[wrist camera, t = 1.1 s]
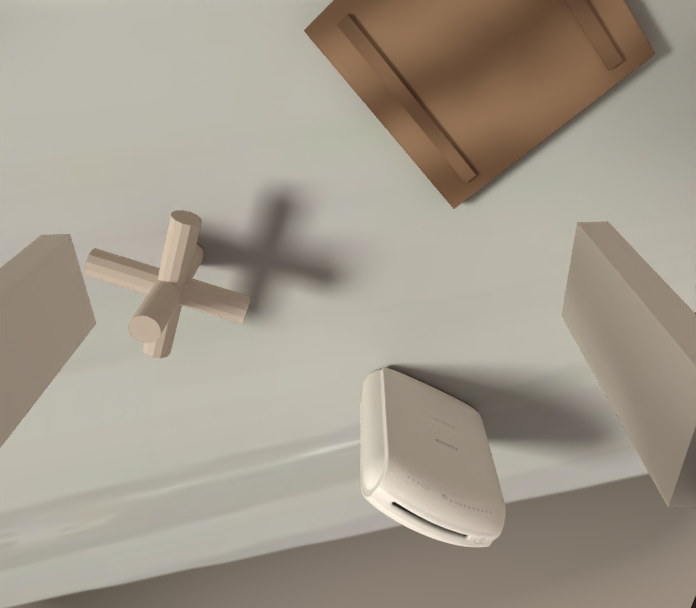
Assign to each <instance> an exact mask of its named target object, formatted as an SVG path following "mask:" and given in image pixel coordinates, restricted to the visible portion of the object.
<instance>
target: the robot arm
mask: <svg viewBox="0 0 696 608" xmlns="http://www.w3.org/2000/svg"><path fill="white" fill-rule="evenodd" d="M562 318H563V319H564V321H565V323H566V325H567V327H568V328H569V330H570V332H571V334H572V336H573V337H574V339H575V341H576V343H577V345H578V346H579V348H580V350H581V352H582V354H583V355H584V357H585V359H586V361H587V363H588V364H589V366H590V368H591V370H592V372H593V373H594V375H595V377H596V379H597V380H598V382H599V384H600V386H601V388H602V389H603V391H604V393H605V395H606V397H607V398H608V400H609V402H610V404H611V406H612V407H613V409H614V411H615V413H616V415H617V416H618V418H619V420H620V422H621V424H622V425H623V427H624V429H625V431H626V433H627V434H628V436H629V438H630V440H631V442H632V443H633V445H634V447H635V449H636V451H637V452H638V454H639V456H640V458H641V460H642V461H643V463H644V465H645V467H646V469H647V470H648V472H649V474H650V476H651V477H652V479H653V481H654V483H655V485H656V487H657V488H658V490H659V492H660V494H661V496H662V497H663V499H664V501H665V503H666V504H667V506H668V508H689V507H690V508H696V313H694V312H693V311H692V310H691V309H690V308H689V306H688V305H687V304H686V303H685V302H684V301H683V300H682V299H681V298H680V297H679V296H678V295H677V294H676V293H675V292H674V291H673V290H672V289H671V288H670V286H669V285H668V284H667V283H666V282H665V281H664V280H663V279H662V278H661V277H660V276H659V275H658V274H657V273H656V272H655V271H654V270H653V269H652V267H651V266H650V265H649V264H648V263H647V262H646V261H645V260H644V259H643V258H642V257H641V256H640V255H639V254H638V253H637V252H636V251H635V250H634V249H633V247H632V246H631V245H630V244H629V243H628V242H627V241H626V240H625V239H624V238H623V237H622V236H621V235H620V234H619V233H618V232H617V231H616V230H615V228H614V227H613V226H612V225H611V224H610V223H609V222H577V226H576V232H575V238H574V244H573V250H572V256H571V262H570V268H569V274H568V280H567V286H566V292H565V298H564V304H563V310H562ZM95 324H96V321H95V317H94V314H93V311H92V307H91V304H90V300H89V297H88V294H87V290H86V287H85V283H84V280H83V277H82V273H81V270H80V266H79V263H78V259H77V256H76V253H75V249H74V246H73V242H72V239H71V236H70V234H54V235H41V236H40V237H38V238H37V239H36V240H35V241H33V242H32V243H31V244H30V245H28V246H27V247H26V248H25V249H23V250H22V251H21V252H20V253H19V254H17V255H16V256H15V257H14V258H12V259H11V260H10V261H9V262H7V263H6V264H5V265H4V266H3V267H1V268H0V448H1V446H2V445H3V444H4V443H5V441H6V440H7V439H8V437H9V436H10V435H11V433H12V432H13V431H14V430H15V428H16V427H17V426H18V424H19V423H20V422H21V420H22V419H23V418H24V417H25V415H26V414H27V413H28V411H29V410H30V409H31V407H32V406H33V405H34V404H35V402H36V401H37V400H38V398H39V397H40V396H41V394H42V393H43V392H44V391H45V389H46V388H47V387H48V385H49V384H50V383H51V381H52V380H53V379H54V378H55V376H56V375H57V374H58V372H59V371H60V370H61V369H62V367H63V366H64V365H65V363H66V362H67V361H68V359H69V358H70V357H71V356H72V354H73V353H74V352H75V350H76V349H77V348H78V346H79V345H80V344H81V343H82V341H83V340H84V339H85V337H86V336H87V335H88V333H89V332H90V331H91V330H92V328H93V327H94V326H95ZM691 608H696V597H695V599H694V602H693V604H692V606H691Z"/></svg>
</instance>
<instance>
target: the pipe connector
mask: <svg viewBox="0 0 696 608" xmlns="http://www.w3.org/2000/svg"><path fill="white" fill-rule="evenodd" d="M201 224H202V219H201V218H200V217H199V216H198V215H196V214H194V213H191V212H187V211H183V210H181V211H174V212H172V213H171V217H170V222H169V226H168V231H167V236H166V241H165V245H164V250H163V255H162V260H161V264H160V268H157V267H153V266H150V265H147V264H144V263H141V262H137V261H134V260H131V259H128V258H125V257H121V256H118V255H115V254H112V253H109V252H105V251H102V250H99V249H96V248H95V249H93V250H92V251H91V253H90V254H89V256H88V258H87V261H86V265H85V269H84V274H85V276H87V277H90V278H93V279H96V280H100V281H103V282H106V283H110V284H113V285H116V286H119V287H123V288H126V289H129V290H133V291H136V292H139V293H142V294H146V295H147V296H146V297H145V299H144V300H143V302H142V303H141V305H140V306H139V308H138V309H137V311H136V312H135V314H134V315H133V317H132V318H131V320H130V321H129V324H128V330H129V333H130V334H131V336H132V337H133V338H134V339H136V340H137V341H140V342H143V343H144V345H143V351H144V352H145V353H146V354H147V355H149V356H151V357H154V358H163V357H167V356H168V355H169V354H170V352H171V348H172V344H173V340H174V336H175V332H176V328H177V323H178V319H179V315H180V311H181V307H182V306H185V307H188V308H192V309H195V310H198V311H202V312H205V313H208V314H211V315H215V316H218V317H221V318H225V319H228V320H231V321H234V322H238V323H241V324H243V323H244V320H245V317H246V314H247V310H248V307H249V304H250V301H251V297H250V296H246V295H243V294H240V293H237V292H234V291H230V290H227V289H224V288H221V287H218V286H214V285H211V284H208V283H205V282H202V281H198V280H195V279H192V278H193V276H194V274H195V273H196V271H197V269H198V267H199V265H200V264H201V262H202V260H203V258H204V253H203V250H202V248H201V247H200V246H199V245H198V244H197V240H198V236H199V232H200V228H201Z"/></svg>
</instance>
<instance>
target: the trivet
mask: <svg viewBox="0 0 696 608" xmlns="http://www.w3.org/2000/svg"><path fill="white" fill-rule="evenodd" d="M304 31H305V33H306V34H307V35H308V36H309V37H310V39H311V40H312V41H313V42H314V43H315V44H316V46H317V47H318V48H319V49H320V50H321V52H322V53H323V54H324V55H325V56H326V58H327V59H328V60H329V61H330V62H331V64H332V65H333V66H334V67H335V68H336V69H337V71H338V72H339V73H340V74H341V75H342V77H343V78H344V79H345V80H346V81H347V83H348V84H349V85H350V86H351V87H352V88H353V90H354V91H355V92H356V93H357V94H358V96H359V97H360V98H361V99H362V100H363V102H364V103H365V104H366V105H367V106H368V108H369V109H370V110H371V111H372V112H373V113H374V115H375V116H376V117H377V118H378V119H379V121H380V122H381V123H382V124H383V125H384V127H385V128H386V129H387V130H388V131H389V132H390V134H391V135H392V136H393V137H394V138H395V140H396V141H397V142H398V143H399V144H400V146H401V147H402V148H403V149H404V150H405V152H406V153H407V154H408V155H409V156H410V157H411V159H412V160H413V161H414V162H415V163H416V165H417V166H418V167H419V168H420V169H421V171H422V172H423V173H424V174H425V175H426V176H427V178H428V179H429V180H430V181H431V182H432V184H433V185H434V186H435V187H436V188H437V190H438V191H439V192H440V193H441V194H442V196H443V197H444V198H445V199H446V200H447V201H448V203H449V204H450V205H451V206H452V207H453V209H455V208H456V207H457V206H459V205H460V204H461V203H462V202H464V201H465V200H466V199H468V198H469V197H470V196H472V195H473V194H474V193H475V192H477V191H478V190H479V189H481V188H482V187H483V186H485V185H486V184H487V183H488V182H490V181H491V180H492V179H494V178H495V177H496V176H498V175H499V174H500V173H501V172H503V171H504V170H505V169H507V168H508V167H509V166H511V165H512V164H513V163H514V162H516V161H517V160H518V159H520V158H521V157H522V156H524V155H525V154H526V153H527V152H529V151H530V150H531V149H533V148H534V147H535V146H536V145H538V144H539V143H540V142H542V141H543V140H544V139H546V138H547V137H548V136H549V135H551V134H552V133H553V132H555V131H556V130H557V129H559V128H560V127H561V126H562V125H564V124H565V123H566V122H568V121H569V120H570V119H572V118H573V117H574V116H575V115H577V114H578V113H579V112H581V111H582V110H583V109H585V108H586V107H587V106H588V105H590V104H591V103H592V102H594V101H595V100H596V99H598V98H599V97H600V96H601V95H603V94H604V93H605V92H607V91H608V90H609V89H611V88H612V87H613V86H614V85H616V84H617V83H618V82H620V81H621V80H622V79H623V78H625V77H626V76H627V75H629V74H630V73H631V72H633V71H634V70H635V69H636V68H638V67H639V66H640V65H642V64H643V63H644V62H646V61H647V60H648V59H649V58H651V57H652V56H653V55H655V52H654V51H653V49H652V47H651V45H650V44H649V42H648V40H647V39H646V37H645V35H644V34H643V32H642V30H641V29H640V27H639V25H638V23H637V22H636V20H635V18H634V17H633V15H632V13H631V12H630V10H629V8H628V7H627V5H626V3H625V1H624V0H334V1H333V2H332V3H331V4H330V5H329V6H328V7H327V8H326V9H325V10H324V11H323V12H322V13H321V14H320V15H319V16H318V17H317V18H316V19H315V20H314V21H313V22H312V23H311V24H310V25H309V26H308V27H307V28H306V29H305V30H304Z"/></svg>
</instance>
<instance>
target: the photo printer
mask: <svg viewBox="0 0 696 608" xmlns="http://www.w3.org/2000/svg"><path fill="white" fill-rule="evenodd" d="M360 421H361V422H360V423H361V491H362V494H363V496H364V497H365V498H366V499H367V500H368V501H369V502H370V503H371V504H372V505H373V506H375V507H376V508H377V509H379V510H380V511H381V512H383V513H384V514H386V515H387V516H389V517H390V518H392V519H394V520H395V521H397V522H399V523H401V524H402V525H404V526H406V527H408V528H410V529H412V530H414V531H417V532H419V533H421V534H423V535H426V536H428V537H431V538H434V539H437V540H440V541H443V542H447V543H450V544H454V545H460V546H466V547H488V546H490V545H491V543H492V541H493V540H494V539H495V538H497V537H499V536H500V534H501V532H502V529H503V526H504V521H505V502H504V498H503V495H502V491H501V487H500V483H499V479H498V476H497V472H496V469H495V465H494V461H493V458H492V454H491V450H490V447H489V443H488V439H487V436H486V432H485V428H484V425H483V422H482V418H481V416H480V414H479V413H478V412H477V411H476V410H475V409H473V408H472V407H470V406H469V405H467V404H465V403H464V402H462V401H460V400H458V399H456V398H454V397H452V396H450V395H448V394H446V393H444V392H442V391H440V390H438V389H435V388H433V387H431V386H429V385H427V384H425V383H423V382H421V381H418V380H416V379H414V378H411V377H409V376H407V375H405V374H402V373H400V372H398V371H395V370H392V369H388V368H382V370H381V369H379V370H376V371H374V372H373V373H371V374H370V375H369V376H368V377H367V378H366V379H365V381H364V383H363V387H362V397H361V401H360Z"/></svg>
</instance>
